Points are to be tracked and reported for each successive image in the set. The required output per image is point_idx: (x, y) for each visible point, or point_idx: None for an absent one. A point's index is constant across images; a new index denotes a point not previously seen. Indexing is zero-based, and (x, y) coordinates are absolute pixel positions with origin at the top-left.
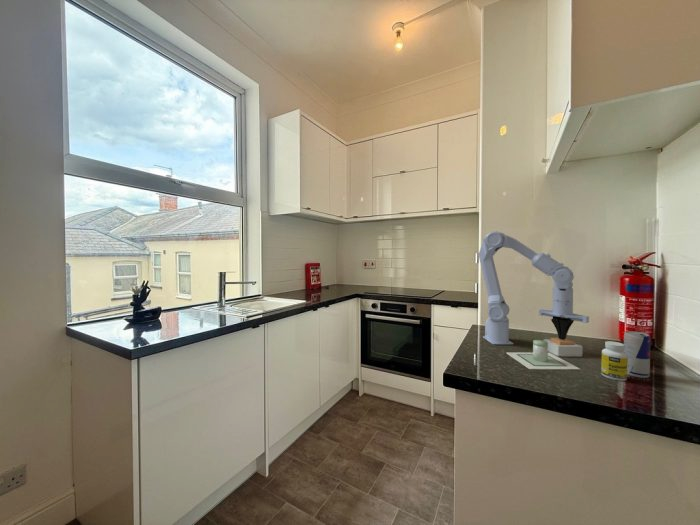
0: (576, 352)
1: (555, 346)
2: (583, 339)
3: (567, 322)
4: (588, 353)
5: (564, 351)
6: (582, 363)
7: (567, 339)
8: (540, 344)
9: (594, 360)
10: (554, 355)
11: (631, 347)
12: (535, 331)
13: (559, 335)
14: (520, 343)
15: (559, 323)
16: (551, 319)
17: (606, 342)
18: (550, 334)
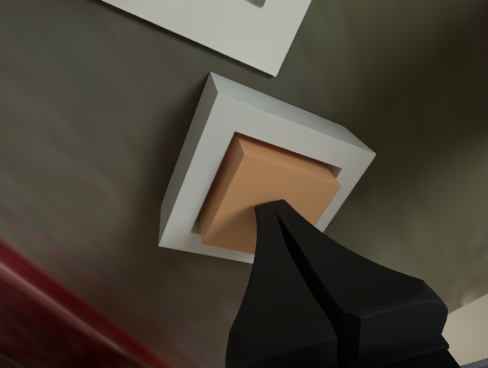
0: (171, 190)
1: (249, 101)
2: None
3: (229, 355)
4: (187, 265)
5: (197, 123)
6: (58, 93)
7: (255, 246)
8: None
9: (94, 206)
10: (223, 49)
11: None
12: (466, 301)
13: (285, 213)
14: (473, 81)
15: (327, 303)
16: (441, 301)
17: None
18: None
